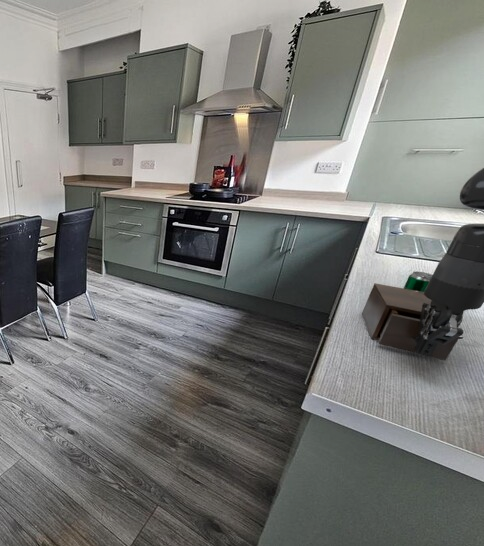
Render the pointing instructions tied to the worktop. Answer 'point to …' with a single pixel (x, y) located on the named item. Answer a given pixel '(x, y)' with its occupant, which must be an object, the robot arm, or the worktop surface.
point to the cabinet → (390, 305)
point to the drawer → (408, 334)
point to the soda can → (418, 281)
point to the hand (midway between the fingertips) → (421, 353)
